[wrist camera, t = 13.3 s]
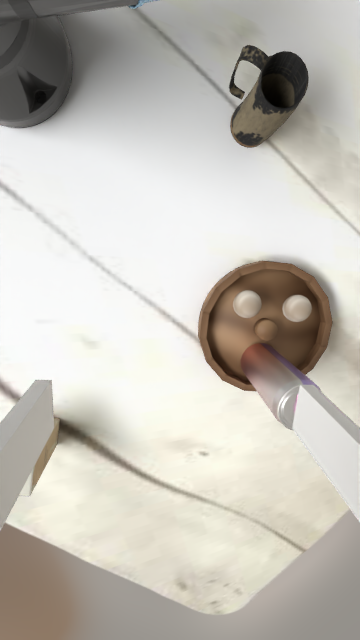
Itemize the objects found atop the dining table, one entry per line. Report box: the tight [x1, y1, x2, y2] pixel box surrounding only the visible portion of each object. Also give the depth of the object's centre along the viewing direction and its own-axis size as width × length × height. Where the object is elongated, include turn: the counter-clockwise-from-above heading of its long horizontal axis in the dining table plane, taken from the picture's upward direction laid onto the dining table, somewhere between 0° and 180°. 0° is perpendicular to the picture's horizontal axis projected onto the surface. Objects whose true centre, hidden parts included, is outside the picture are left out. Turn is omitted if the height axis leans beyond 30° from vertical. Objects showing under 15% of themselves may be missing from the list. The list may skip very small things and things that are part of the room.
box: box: [19, 418, 60, 497], centre depth 43 cm, size 5×4×11 cm
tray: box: [198, 261, 332, 391], centre depth 46 cm, size 20×20×3 cm
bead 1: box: [233, 290, 262, 318], centre depth 43 cm, size 4×4×4 cm
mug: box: [229, 45, 308, 147], centre depth 34 cm, size 8×6×12 cm
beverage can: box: [240, 343, 321, 431], centre depth 40 cm, size 6×6×15 cm
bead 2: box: [282, 295, 312, 322], centre depth 44 cm, size 4×4×4 cm
